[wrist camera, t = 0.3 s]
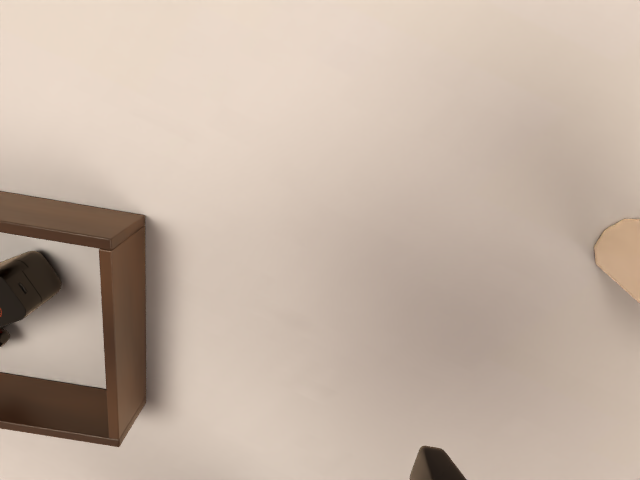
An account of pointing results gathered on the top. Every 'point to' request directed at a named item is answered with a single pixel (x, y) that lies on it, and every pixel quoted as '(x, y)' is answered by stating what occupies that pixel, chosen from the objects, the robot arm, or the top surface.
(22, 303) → the black dial case
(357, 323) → the top surface
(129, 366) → the desk tray
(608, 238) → the milkshake
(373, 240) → the top surface
